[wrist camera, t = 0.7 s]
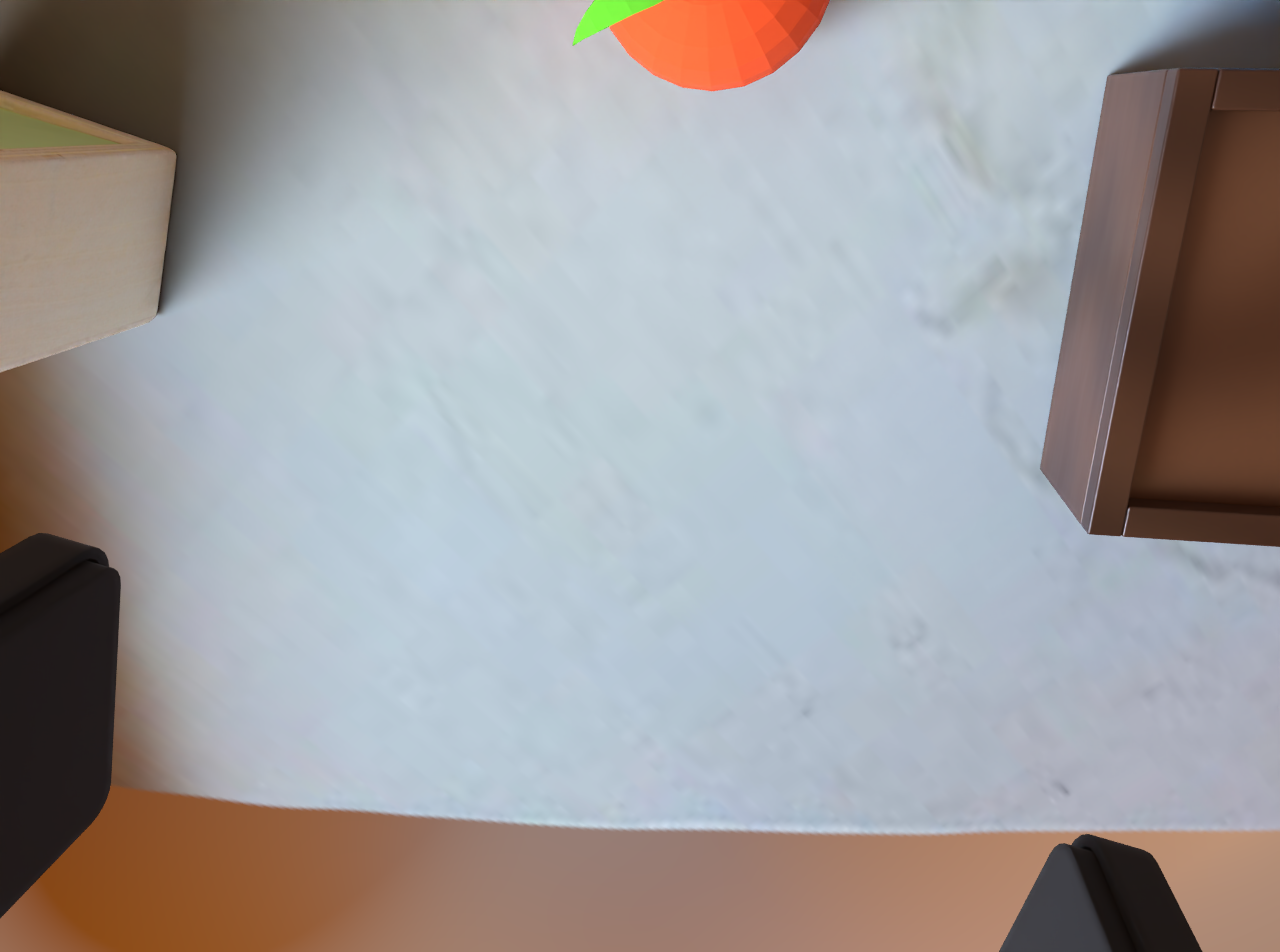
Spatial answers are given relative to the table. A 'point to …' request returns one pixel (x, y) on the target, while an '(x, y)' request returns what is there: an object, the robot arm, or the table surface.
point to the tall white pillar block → (76, 230)
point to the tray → (1176, 315)
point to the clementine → (707, 36)
